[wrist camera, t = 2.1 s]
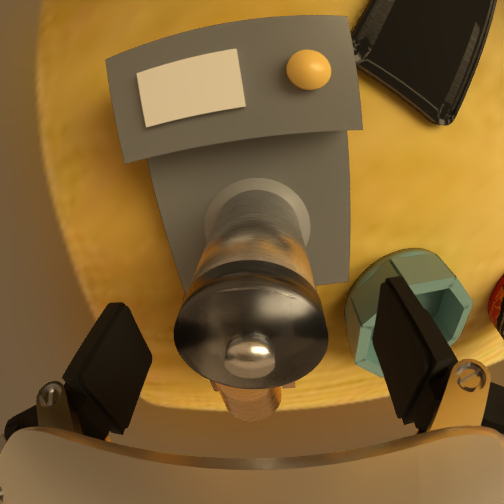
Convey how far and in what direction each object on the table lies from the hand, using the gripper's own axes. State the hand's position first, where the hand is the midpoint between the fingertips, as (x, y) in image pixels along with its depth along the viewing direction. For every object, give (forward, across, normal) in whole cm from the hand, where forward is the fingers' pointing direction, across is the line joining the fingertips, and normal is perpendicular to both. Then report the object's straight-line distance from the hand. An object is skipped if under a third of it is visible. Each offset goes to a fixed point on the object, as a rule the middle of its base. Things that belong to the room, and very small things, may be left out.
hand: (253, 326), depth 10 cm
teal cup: (+8, -10, +7) cm, 15 cm away
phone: (+8, -13, -14) cm, 21 cm away
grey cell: (+6, 0, -1) cm, 6 cm away
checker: (+8, 0, -4) cm, 9 cm away
